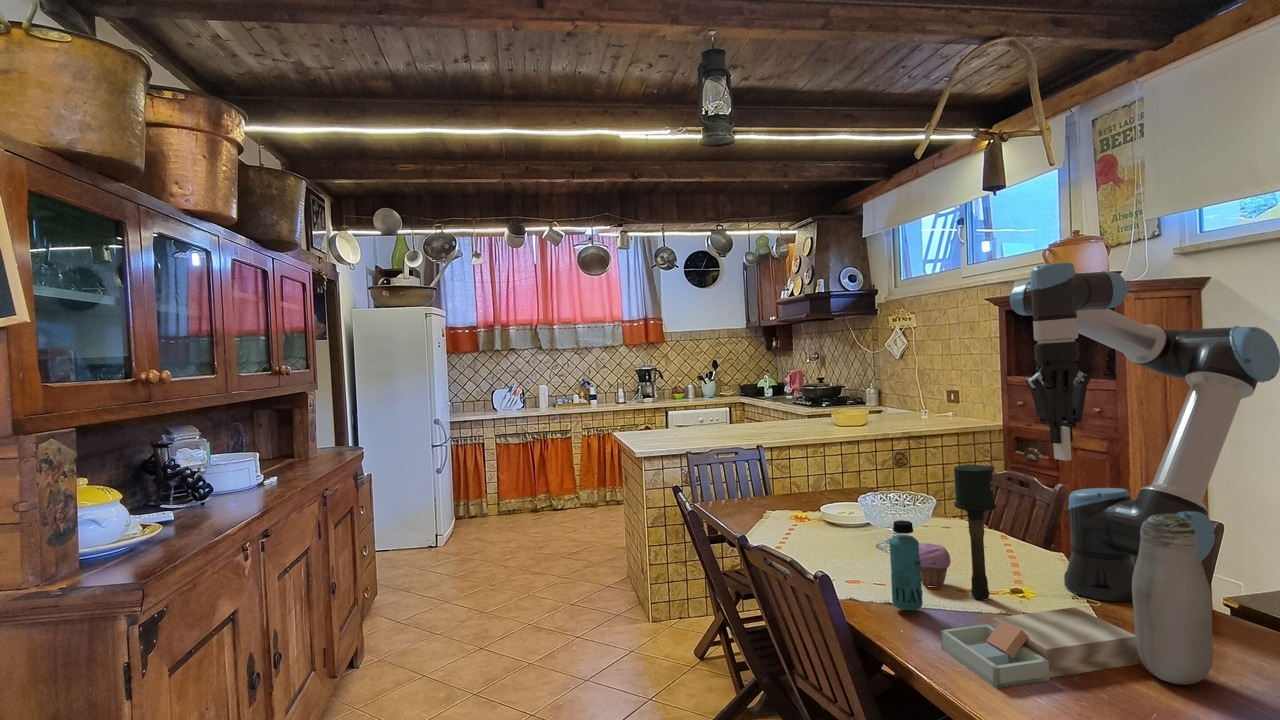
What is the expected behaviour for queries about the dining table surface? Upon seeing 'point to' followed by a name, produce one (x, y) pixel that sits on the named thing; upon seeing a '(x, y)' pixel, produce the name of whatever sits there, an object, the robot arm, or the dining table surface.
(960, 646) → the tray
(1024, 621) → the board
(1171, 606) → the grey tall rounded cylinder
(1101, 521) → the robot arm
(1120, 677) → the dining table surface
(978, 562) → the potato masher grenade
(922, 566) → the cupcake
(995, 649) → the tile slate
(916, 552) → the beverage bottle
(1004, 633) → the tile terracotta
